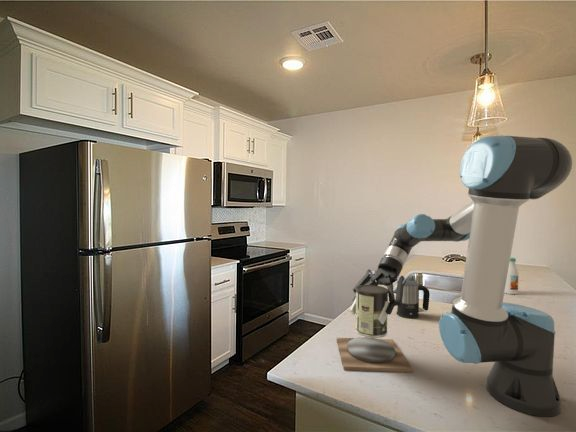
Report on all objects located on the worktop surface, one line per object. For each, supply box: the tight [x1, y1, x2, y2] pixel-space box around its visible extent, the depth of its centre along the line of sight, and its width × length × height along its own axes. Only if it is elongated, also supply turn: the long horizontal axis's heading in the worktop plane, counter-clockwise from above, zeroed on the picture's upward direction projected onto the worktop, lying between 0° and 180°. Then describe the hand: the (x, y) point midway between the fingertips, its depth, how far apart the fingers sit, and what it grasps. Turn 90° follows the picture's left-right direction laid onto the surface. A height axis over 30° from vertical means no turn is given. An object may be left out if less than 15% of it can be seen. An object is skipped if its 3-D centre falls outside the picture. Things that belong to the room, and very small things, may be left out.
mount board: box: [336, 336, 414, 373], centre depth 101 cm, size 20×20×2 cm
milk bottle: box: [504, 257, 519, 295], centre depth 176 cm, size 8×8×20 cm
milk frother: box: [396, 279, 431, 319], centre depth 142 cm, size 14×16×15 cm
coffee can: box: [354, 285, 389, 339], centre depth 101 cm, size 10×10×14 cm
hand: (365, 316), depth 99 cm, fingers closed on coffee can, 10 cm apart
